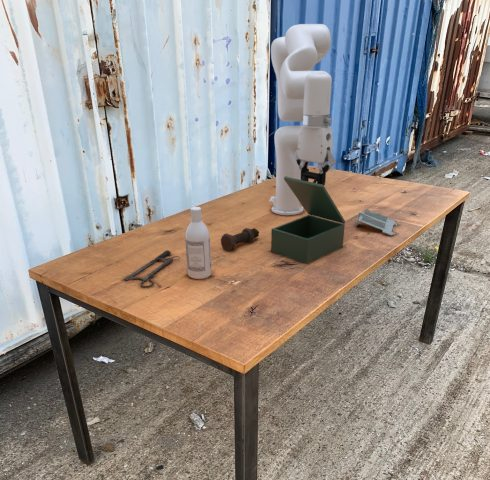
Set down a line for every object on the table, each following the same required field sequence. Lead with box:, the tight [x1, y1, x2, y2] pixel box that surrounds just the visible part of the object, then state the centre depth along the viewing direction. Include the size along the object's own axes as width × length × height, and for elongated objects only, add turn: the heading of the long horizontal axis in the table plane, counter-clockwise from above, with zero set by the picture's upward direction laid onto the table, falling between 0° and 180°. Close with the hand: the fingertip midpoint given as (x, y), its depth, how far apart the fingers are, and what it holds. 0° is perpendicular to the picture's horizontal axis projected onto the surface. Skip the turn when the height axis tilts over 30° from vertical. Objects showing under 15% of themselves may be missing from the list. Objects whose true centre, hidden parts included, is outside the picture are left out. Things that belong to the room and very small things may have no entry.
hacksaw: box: [124, 249, 181, 288], centre depth 151 cm, size 24×10×2 cm, turn 153°
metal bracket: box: [354, 208, 398, 236], centre depth 181 cm, size 14×6×15 cm
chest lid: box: [284, 170, 346, 224], centre depth 158 cm, size 20×15×5 cm
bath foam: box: [184, 206, 212, 280], centre depth 143 cm, size 7×7×20 cm
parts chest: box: [270, 214, 346, 265], centre depth 162 cm, size 19×15×8 cm
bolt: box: [220, 227, 260, 252], centre depth 168 cm, size 6×5×15 cm
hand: (312, 183), depth 154 cm, fingers closed on chest lid, 5 cm apart
